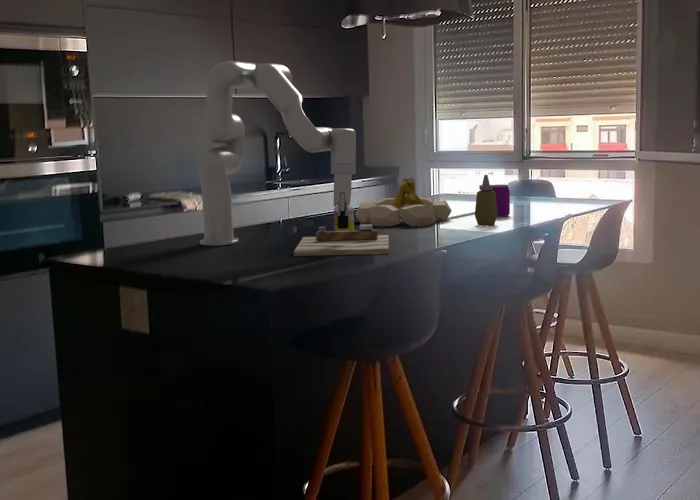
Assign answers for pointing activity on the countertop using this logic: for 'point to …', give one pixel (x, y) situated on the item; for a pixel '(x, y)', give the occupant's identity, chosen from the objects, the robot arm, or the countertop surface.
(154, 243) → the countertop surface
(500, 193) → the beverage can
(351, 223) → the supplement bottle
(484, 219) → the squeeze bottle
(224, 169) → the robot arm
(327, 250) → the hinge board
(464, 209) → the countertop surface
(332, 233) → the link
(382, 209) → the campfire
